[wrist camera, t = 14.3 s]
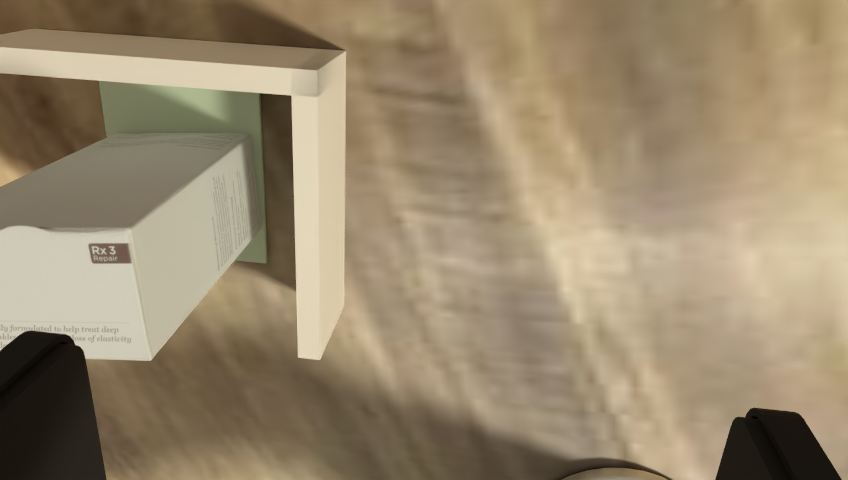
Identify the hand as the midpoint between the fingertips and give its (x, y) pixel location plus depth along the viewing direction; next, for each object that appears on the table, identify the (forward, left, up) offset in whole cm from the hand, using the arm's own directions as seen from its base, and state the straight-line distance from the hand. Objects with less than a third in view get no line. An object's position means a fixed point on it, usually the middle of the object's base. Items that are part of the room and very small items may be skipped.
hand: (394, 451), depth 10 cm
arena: (-6, +16, -28) cm, 33 cm away
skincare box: (-6, +16, -28) cm, 33 cm away
